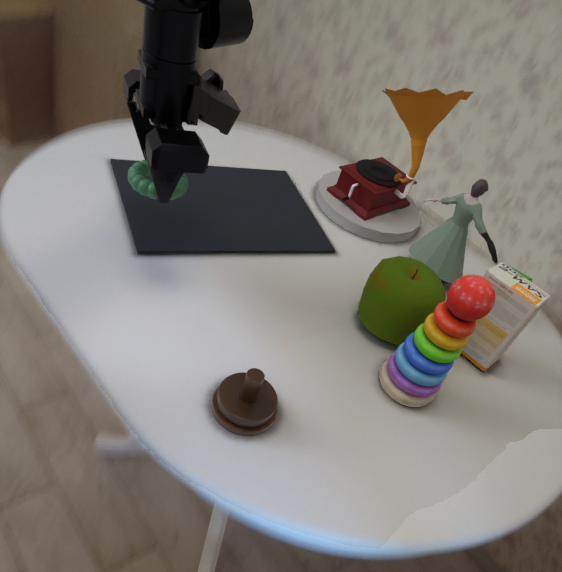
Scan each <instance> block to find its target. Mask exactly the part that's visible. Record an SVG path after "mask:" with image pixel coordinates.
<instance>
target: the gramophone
mask: <svg viewBox="0 0 562 572" xmlns="http://www.w3.org/2000/svg"><path fill="white" fill-rule="evenodd" d="M381 92H382V93H384V94H385V95H386V96H387V98H389V100H390V101H391V104H392V105H393V107H394V109H395V111H396V113H397V115H398V117H399V119H400V120H401V121H402V123H403V125H404V126H405V128H406V130H407V132H408V135H409V137H410V147H411V148H410V149H411V151H410V152H411V165H410V166H411V167H410V169H409V171H408V173H405V172H404V171H403V170H401V169H400V168H399V167H398V166H396V165H395V164H393V163H392V162H390V161H389V160H388V159H386V158H384V157H383V156H380V157H376V158H371V159H369V158H365V159H360V160H357V162H352V163H347V164H344V165H339V166H338V169H339V170H332V171H329V172H327V173H324V174H323V175H322V177H321V178H320V179H319V181H318V183H317V187H316V189H315V201H316V203H317V205H318V207H319V208H320V210H321V211H322V213H324V214H325V215H326V217H328V219H330V221H331V222H333V223H335V224H336V225H337V226H339V227H341V228H342V229H344V230H345V231H347V232H349V233H352V234H353V235H356V236H358V237H361V238H362V239H363V238H364V239H367V240H370V241H374V242H379V243H391V244H395V243H401V242H406V241H408V240H409V239H411V238H412V237H414V236H415V234H416V232H417V230H418V229H419V227H420V224H421V221H422V216H421V212H420V208H418V206H417V204H416V203H415V201H414V200H413V199H412V198H411V197H410V196H408V195H409V193H410V191H411V189H412V187H413V186H414V185H416V184H418V182H417V181H416V176H417V174H418V171H419V170H420V167H421V163H422V160H423V157H424V154H425V151H426V150H425V149H426V145H427V142H428V138H430V135H431V134H432V132H433V131H434V130H435V129H436V128H437V126H439V124H440V123H441V122H442V121H443V120H445V119H446V117H447V116H448V115H449V114H450V112H451V111H452V110H453V109H454V108H455V107H456V105H457V104H458V103H460V101H461V100H462V101H467V100H468V99H469V98H470V97H471V95H472V94H473V93H474V91H465V90H464V89H461V90H458V91H454V92H451V93H448V94H446V93H445V92H442V91H441V90H439V89H438V88H432V89H431V88H430V89H427V90H423V91H416V90H414V89H411V88H407V87H402V88H400V89H396V90H394V89H389V88H384V90H383V89H381Z"/></svg>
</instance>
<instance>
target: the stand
mask: <svg viewBox="0 0 562 572" xmlns="http://www.w3.org/2000/svg"><path fill="white" fill-rule="evenodd" d="M265 378H266V376H265V372H264V371H263V370H261V369H260V368H258V367H257V368H256V367H251V368H248V369H247V370H246V372H245V371H244V372H236V373H232V374H230V375H228V376H226V377H225V378H224V379H223V380H222V381H221V382H220V384H219V385H218V387H216V389H215V390H214V391H213V392H214V393H213V395H212V399H211V405H210V406H211V411H212V415H213V417H214V418H215V420H216V421H217V422H218V424H220V426H222V427H223V428H224V429H225V430H227V431H229V432H231V433H234V434H236V435H241V436H256V435H260V434H263V433H265V432H266V431H268V430H269V429H270V428H271V427H272V425H274V422H275V420H276V418H277V416H278V401H279V400H278V399H279V398H278V393H277V392H276V390H275V388H274V386H273V385H272V384H271V383H270V382H269V381H268V380H266V379H265Z"/></svg>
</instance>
